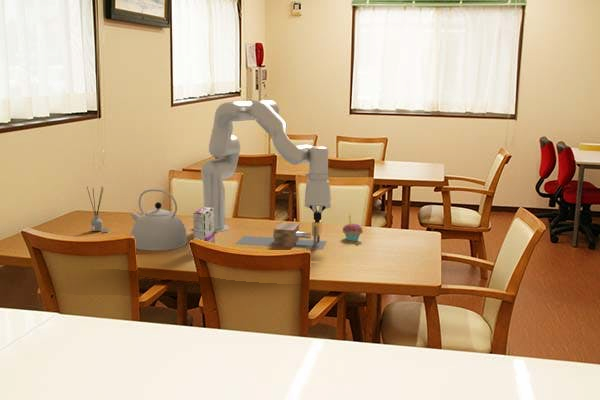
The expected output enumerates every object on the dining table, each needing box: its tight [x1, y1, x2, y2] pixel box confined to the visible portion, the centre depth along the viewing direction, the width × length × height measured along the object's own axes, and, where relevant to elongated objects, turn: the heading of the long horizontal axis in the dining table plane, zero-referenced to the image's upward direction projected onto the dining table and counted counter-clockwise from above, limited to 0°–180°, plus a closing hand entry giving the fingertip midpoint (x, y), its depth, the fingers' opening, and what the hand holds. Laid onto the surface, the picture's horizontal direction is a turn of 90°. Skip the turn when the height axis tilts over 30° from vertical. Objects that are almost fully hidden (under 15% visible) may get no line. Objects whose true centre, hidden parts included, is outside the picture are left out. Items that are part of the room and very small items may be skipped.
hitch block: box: [273, 222, 321, 248], centre depth 269 cm, size 17×12×9 cm
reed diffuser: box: [86, 186, 109, 233], centre depth 284 cm, size 10×7×20 cm
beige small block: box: [311, 219, 323, 237], centre depth 267 cm, size 3×8×5 cm, turn 170°
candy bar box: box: [193, 206, 216, 244], centre depth 258 cm, size 11×5×16 cm, turn 168°
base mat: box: [235, 235, 328, 250], centre depth 271 cm, size 36×13×1 cm, turn 80°
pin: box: [272, 227, 312, 239], centre depth 270 cm, size 15×5×5 cm, turn 80°
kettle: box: [129, 188, 188, 251], centre depth 267 cm, size 25×23×22 cm
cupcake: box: [342, 213, 364, 242], centre depth 278 cm, size 9×8×12 cm
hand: (317, 221), depth 267 cm, fingers closed
